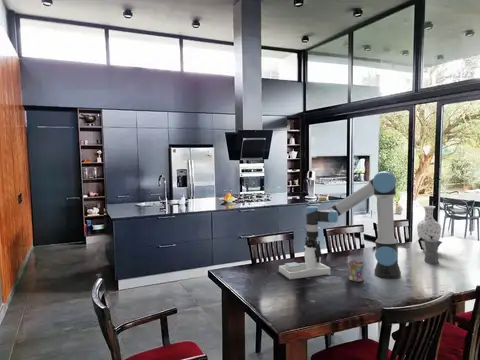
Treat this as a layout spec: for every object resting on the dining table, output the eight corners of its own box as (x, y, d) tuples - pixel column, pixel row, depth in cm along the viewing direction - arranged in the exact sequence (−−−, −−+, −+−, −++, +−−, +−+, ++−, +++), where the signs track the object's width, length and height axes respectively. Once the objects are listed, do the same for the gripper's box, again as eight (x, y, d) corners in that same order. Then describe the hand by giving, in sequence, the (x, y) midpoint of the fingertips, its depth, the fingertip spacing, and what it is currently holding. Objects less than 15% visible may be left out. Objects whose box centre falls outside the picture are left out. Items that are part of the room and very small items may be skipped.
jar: (321, 272, 215) (321, 248, 214) (304, 271, 217) (304, 248, 216) (320, 267, 226) (320, 244, 225) (304, 266, 228) (304, 244, 227)
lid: (301, 266, 215) (301, 265, 215) (289, 267, 212) (289, 266, 212) (295, 263, 222) (295, 262, 222) (284, 264, 219) (284, 263, 219)
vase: (441, 250, 270) (441, 205, 269) (440, 255, 257) (440, 208, 255) (418, 247, 279) (418, 204, 277) (416, 252, 265) (416, 207, 263)
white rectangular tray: (330, 275, 216) (330, 268, 216) (289, 280, 208) (289, 273, 208) (317, 267, 232) (317, 261, 231) (278, 272, 223) (278, 265, 223)
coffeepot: (444, 262, 239) (444, 236, 238) (439, 265, 233) (440, 238, 232) (420, 257, 250) (420, 233, 249) (415, 260, 244) (415, 235, 243)
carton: (300, 275, 215) (300, 266, 215) (290, 276, 213) (290, 267, 213) (295, 271, 222) (295, 263, 221) (285, 273, 220) (285, 264, 219)
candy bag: (368, 280, 205) (368, 263, 204) (356, 283, 200) (356, 265, 200) (352, 275, 215) (352, 258, 215) (341, 278, 211) (341, 260, 210)
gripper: (298, 228, 230) (299, 260, 231) (316, 234, 208) (316, 270, 209) (308, 227, 232) (309, 259, 233) (327, 233, 210) (327, 269, 211)
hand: (312, 264), depth 221 cm, fingers closed on jar, 10 cm apart
